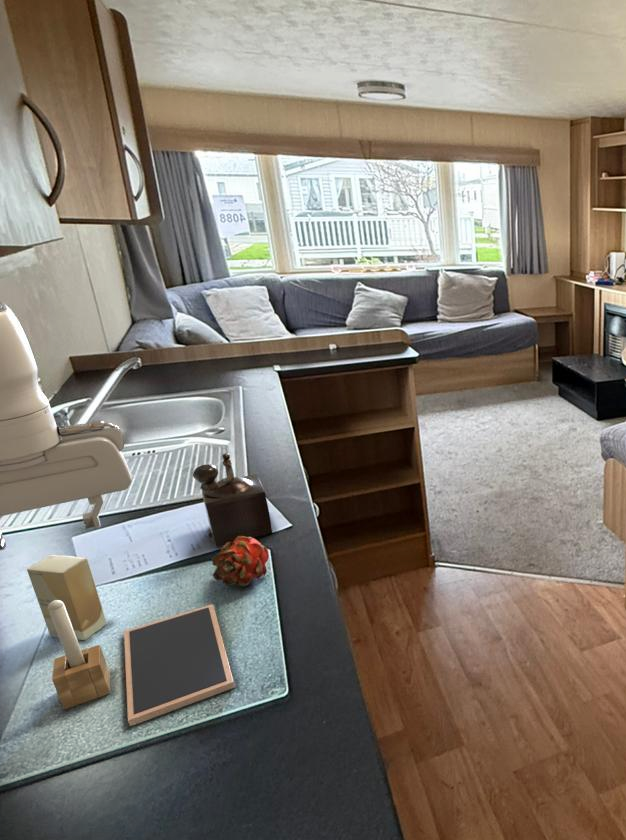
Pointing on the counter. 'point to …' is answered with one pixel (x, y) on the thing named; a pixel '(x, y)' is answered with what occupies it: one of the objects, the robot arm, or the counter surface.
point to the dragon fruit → (240, 561)
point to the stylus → (66, 633)
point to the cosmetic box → (68, 593)
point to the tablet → (174, 663)
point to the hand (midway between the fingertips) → (47, 538)
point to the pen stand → (81, 678)
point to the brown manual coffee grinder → (233, 504)
